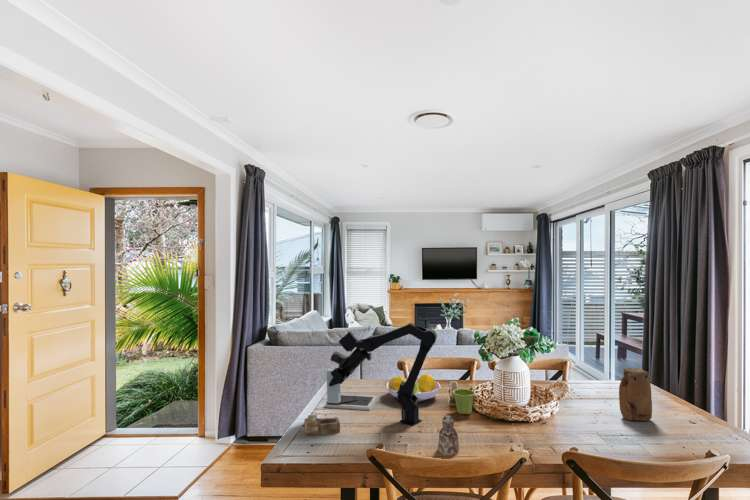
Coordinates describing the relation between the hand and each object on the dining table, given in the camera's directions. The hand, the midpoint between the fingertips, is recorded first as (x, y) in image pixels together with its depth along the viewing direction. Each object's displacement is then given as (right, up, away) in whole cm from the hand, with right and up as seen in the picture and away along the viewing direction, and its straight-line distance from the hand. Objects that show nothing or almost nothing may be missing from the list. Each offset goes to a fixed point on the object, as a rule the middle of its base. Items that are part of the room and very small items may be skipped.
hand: (330, 384), depth 177 cm
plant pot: (+58, -13, +2) cm, 60 cm away
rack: (-2, -13, -16) cm, 21 cm away
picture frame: (+8, -15, +16) cm, 23 cm away
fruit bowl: (+37, -14, +23) cm, 46 cm away
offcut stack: (-6, -12, -17) cm, 21 cm away
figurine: (+45, -12, -34) cm, 58 cm away
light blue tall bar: (+1, -7, -1) cm, 7 cm away
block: (+126, -12, -8) cm, 127 cm away
